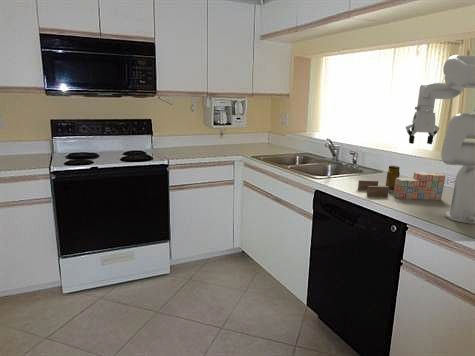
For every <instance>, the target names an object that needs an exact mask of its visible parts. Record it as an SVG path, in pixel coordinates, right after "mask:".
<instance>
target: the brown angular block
mask: <svg viewBox="0 0 475 356" xmlns="http://www.w3.org/2000/svg"><path fill="white" fill-rule="evenodd" d="M357 184H358V185H357V190H358V191H366V197H374V198H375V197H376V198H377V197H379V198H380V197H382V198H387V197H389V196H388V195H389V192H388V191H389V187H388V186H386V185H379V180H366V179H365V180H363V179H359V180H358V183H357Z"/></svg>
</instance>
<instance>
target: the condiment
mask: <svg viewBox="0 0 475 356" xmlns="http://www.w3.org/2000/svg"><path fill="white" fill-rule="evenodd" d="M400 174H401V173H400V166H397V165H389V166H388V170H387V173H386V180H385V186H388V187H389V189H390V190H394V186H395V180H396V178H400Z"/></svg>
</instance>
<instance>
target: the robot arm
mask: <svg viewBox="0 0 475 356" xmlns="http://www.w3.org/2000/svg"><path fill="white" fill-rule="evenodd" d="M442 69H443V74H444V80H445V82H427V83H423V84H421V85H420V86H419V90H418V91H419V92H418V99H417V106H415V107H414V110H416V111H415V112H414V115H413V118H412V121H411V124H408V125H407V126H405V130H406V132H407V134H408V136H409V138H408V142H409V144H411V145H413V144H414V143H415V137H416V136H415V135H416V134H417V133H428V136H427V142H426V144H427V145H433V141H434V137H435V135H437V134H438V132H439V130H440V129H441V127H439V126H437V125H436V112H434V110H435V103H436V100H451V99H453V98H456V97H458V96H460V95H461V94H462V93H463V91H464V89H475V55H461V54H455V55H452V56H449V58H447V59H446V60H445V62H444V64H443V68H442ZM445 131H446V132H445V136H444V139H443V143H442V147H441V151H440V152H441V153H440V154H441V155H440V157H441V161H442V162H443V163H444V164H446V165H449V166H461V167H460V169H459V170H458V172H457V173H456V177H455V181H454V185H453V186H454V187H453V192H452V198H451V204H450V209H449V211H446V212H445V214H444V216H445V218H447V219H449V220H451V221H455V222H459V223H464V224H471V225H475V108H474V109H473V112H470V113H469V112H468V113H466V112H465V113H464V112H461V113H456V114H455V115H454V116H452V117H451V119H450V121H449V122H448V125H447V129H446V130H445ZM466 139H470V140H467V141H466ZM473 140H474V141H473Z"/></svg>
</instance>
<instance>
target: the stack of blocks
mask: <svg viewBox="0 0 475 356" xmlns="http://www.w3.org/2000/svg"><path fill="white" fill-rule="evenodd" d="M445 180H446V175H445V174H441V173H439V172H431V171H430V172H429V171H427V172H423V171H422V172H419V171H418V172H416V171H414V172H413V176H412V178H411V177H410V178H409V177H408V178H407V177H399V178H396V180H395V186H394V192H392V193H393V194H392V196H394V197H396V198H398V199H400V200H404V199H405V200H435V201H436V200H440V201H441V200H442V196H443V190H444V187H445V186H444V185H445Z"/></svg>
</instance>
